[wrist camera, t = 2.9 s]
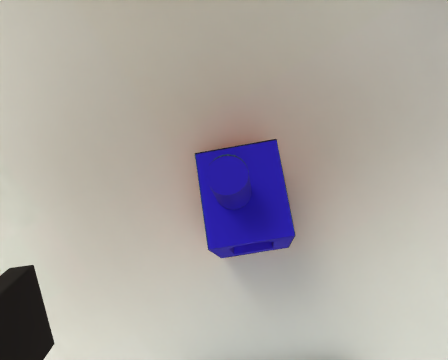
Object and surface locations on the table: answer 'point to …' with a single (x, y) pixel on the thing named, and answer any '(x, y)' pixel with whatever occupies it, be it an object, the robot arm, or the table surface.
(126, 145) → the table surface
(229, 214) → the toy building block
